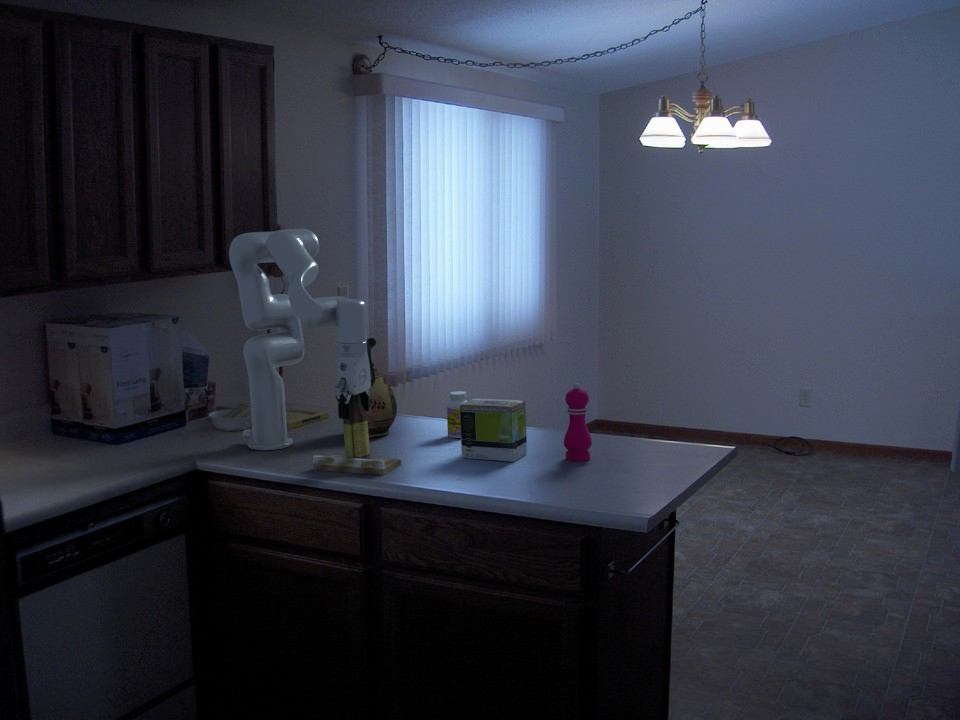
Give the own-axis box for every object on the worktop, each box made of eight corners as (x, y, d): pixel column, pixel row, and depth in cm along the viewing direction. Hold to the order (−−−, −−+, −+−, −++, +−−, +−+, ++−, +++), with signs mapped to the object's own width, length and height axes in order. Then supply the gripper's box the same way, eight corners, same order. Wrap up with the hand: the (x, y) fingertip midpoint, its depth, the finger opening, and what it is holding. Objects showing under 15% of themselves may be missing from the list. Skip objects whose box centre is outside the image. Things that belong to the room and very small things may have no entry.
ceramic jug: (352, 428, 303) (348, 330, 299) (402, 429, 301) (398, 329, 296) (337, 442, 286) (331, 338, 282) (390, 442, 284) (385, 337, 280)
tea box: (527, 454, 266) (526, 399, 264) (513, 463, 257) (511, 406, 255) (476, 450, 272) (474, 396, 270) (460, 458, 263) (458, 403, 261)
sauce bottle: (373, 458, 260) (369, 382, 257) (366, 464, 254) (362, 387, 251) (349, 457, 261) (345, 382, 258) (341, 463, 255) (337, 387, 252)
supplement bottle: (443, 437, 288) (441, 393, 286) (457, 433, 293) (455, 389, 291) (461, 440, 284) (459, 395, 282) (475, 435, 289) (474, 391, 287)
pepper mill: (560, 461, 257) (559, 384, 254) (568, 454, 264) (566, 379, 261) (588, 463, 255) (587, 385, 252) (594, 456, 261) (593, 380, 258)
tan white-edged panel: (313, 469, 256) (312, 456, 256) (333, 460, 266) (332, 447, 265) (383, 475, 249) (382, 461, 248) (401, 465, 258) (400, 451, 258)
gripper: (348, 354, 244) (350, 423, 247) (381, 344, 260) (382, 408, 263) (321, 352, 247) (324, 420, 250) (355, 342, 263) (357, 406, 266)
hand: (354, 414), depth 256 cm, fingers open, 9 cm apart
